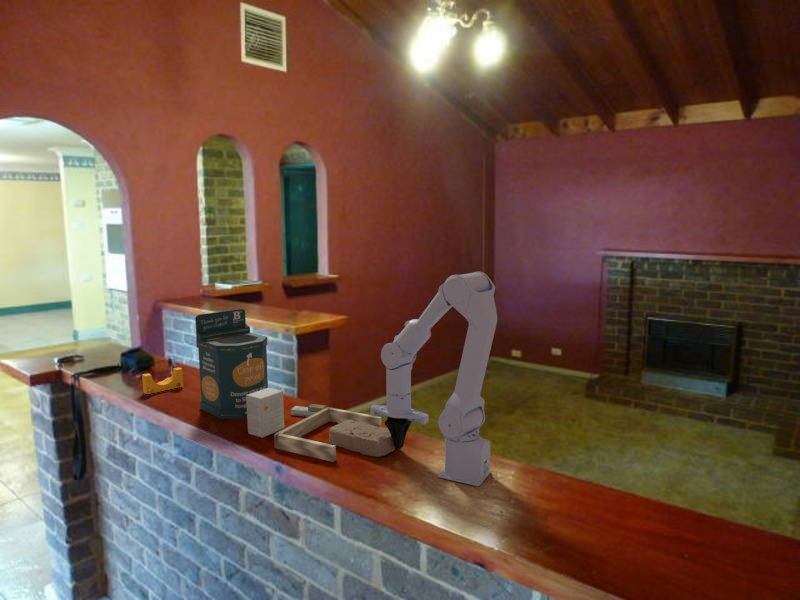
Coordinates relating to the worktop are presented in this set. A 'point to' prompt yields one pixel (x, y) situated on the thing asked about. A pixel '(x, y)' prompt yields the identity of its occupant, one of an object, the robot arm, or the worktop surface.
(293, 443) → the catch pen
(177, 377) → the pipe clamp
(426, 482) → the worktop surface
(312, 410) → the scraper bar
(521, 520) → the worktop surface
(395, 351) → the robot arm
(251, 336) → the donation box
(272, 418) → the small box
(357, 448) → the brick
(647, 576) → the worktop surface
